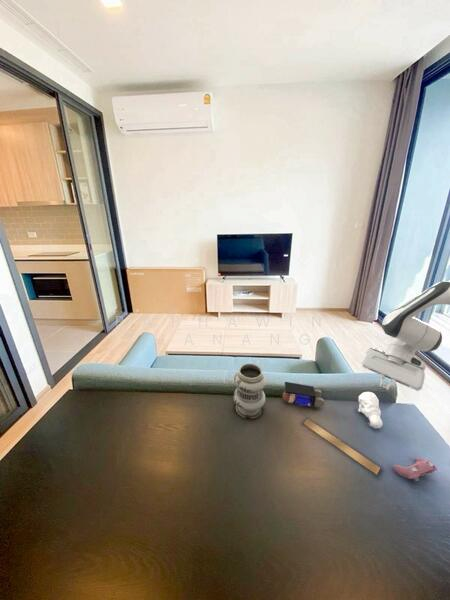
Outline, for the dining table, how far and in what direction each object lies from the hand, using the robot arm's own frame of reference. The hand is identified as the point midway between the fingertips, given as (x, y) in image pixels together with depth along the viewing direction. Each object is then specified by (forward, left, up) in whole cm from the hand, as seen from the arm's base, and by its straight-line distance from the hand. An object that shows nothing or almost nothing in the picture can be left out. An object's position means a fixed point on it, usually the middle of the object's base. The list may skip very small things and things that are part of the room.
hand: (383, 388), depth 93 cm
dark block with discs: (+21, +21, -9) cm, 31 cm away
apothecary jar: (+33, +39, -9) cm, 52 cm away
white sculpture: (0, +9, -9) cm, 13 cm away
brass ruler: (+3, +28, -9) cm, 30 cm away
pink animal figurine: (-16, +21, -9) cm, 28 cm away
